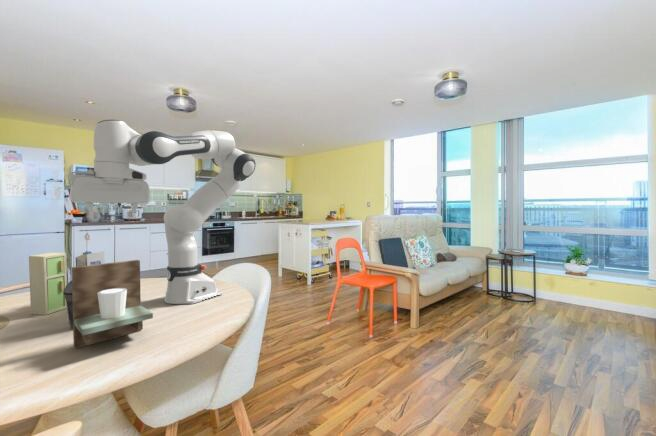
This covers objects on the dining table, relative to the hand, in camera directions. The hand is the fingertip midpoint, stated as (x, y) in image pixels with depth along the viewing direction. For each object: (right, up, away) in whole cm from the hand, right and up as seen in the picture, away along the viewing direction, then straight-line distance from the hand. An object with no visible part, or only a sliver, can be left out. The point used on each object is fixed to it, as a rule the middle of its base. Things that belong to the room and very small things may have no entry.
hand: (113, 217), depth 94 cm
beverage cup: (-13, -35, +3) cm, 38 cm away
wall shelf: (+6, -35, -8) cm, 37 cm away
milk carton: (-31, -34, +31) cm, 55 cm away
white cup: (+6, -28, -8) cm, 29 cm away
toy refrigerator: (-35, -34, +17) cm, 52 cm away
